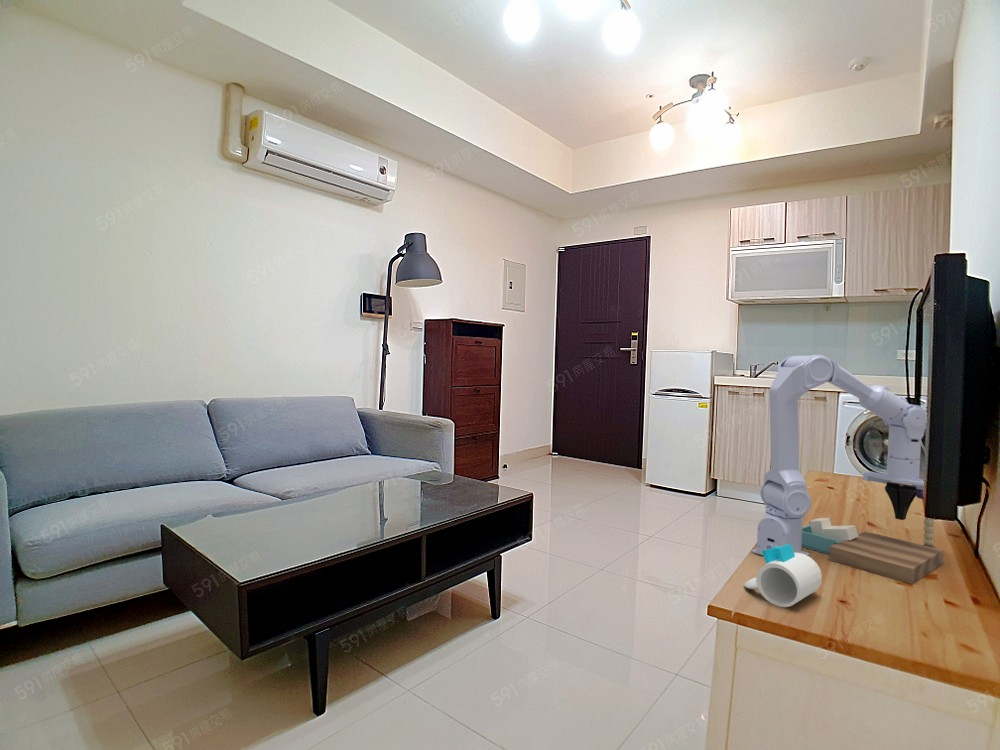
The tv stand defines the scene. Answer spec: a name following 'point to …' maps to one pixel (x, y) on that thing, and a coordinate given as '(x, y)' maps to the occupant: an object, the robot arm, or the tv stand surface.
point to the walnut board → (887, 556)
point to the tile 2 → (841, 532)
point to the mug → (786, 576)
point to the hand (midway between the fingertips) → (900, 518)
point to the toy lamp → (927, 527)
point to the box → (816, 541)
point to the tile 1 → (819, 525)
